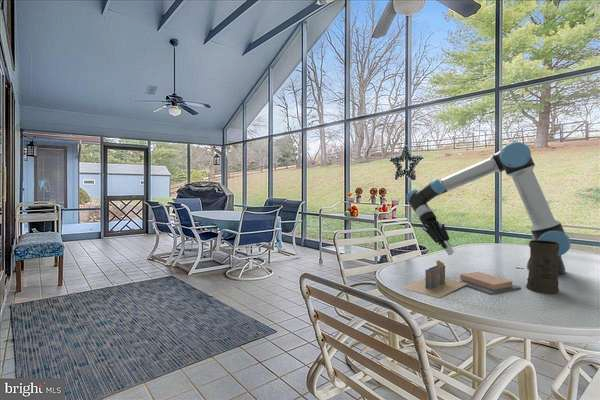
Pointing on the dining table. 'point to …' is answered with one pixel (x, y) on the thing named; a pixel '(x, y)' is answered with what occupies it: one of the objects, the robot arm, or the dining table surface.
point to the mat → (490, 289)
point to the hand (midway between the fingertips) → (451, 253)
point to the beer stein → (543, 267)
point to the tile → (486, 280)
